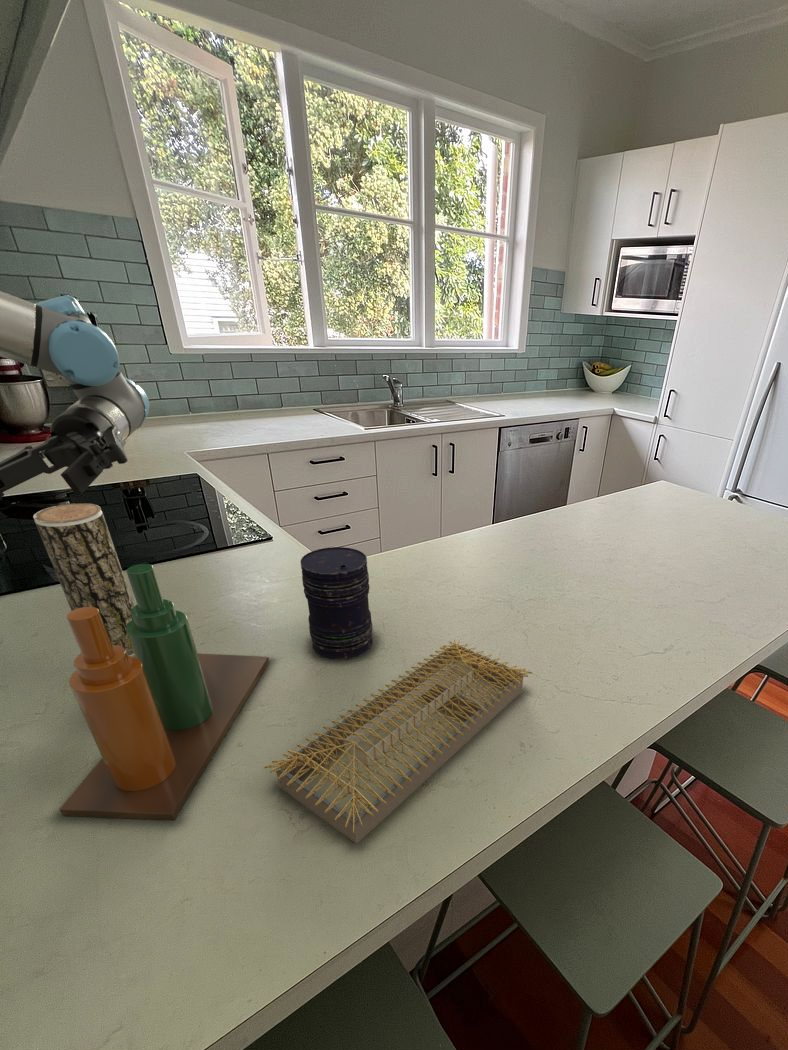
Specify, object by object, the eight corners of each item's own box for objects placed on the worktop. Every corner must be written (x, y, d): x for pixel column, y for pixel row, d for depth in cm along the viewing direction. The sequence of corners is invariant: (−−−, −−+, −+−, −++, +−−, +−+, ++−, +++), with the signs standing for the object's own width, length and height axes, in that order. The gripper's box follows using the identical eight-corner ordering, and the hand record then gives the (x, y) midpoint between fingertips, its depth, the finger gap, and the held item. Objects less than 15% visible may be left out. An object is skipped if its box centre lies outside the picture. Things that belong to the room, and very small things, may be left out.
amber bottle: (101, 790, 60) (24, 629, 49) (133, 749, 65) (70, 595, 54) (159, 792, 60) (95, 632, 49) (186, 751, 66) (134, 598, 54)
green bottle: (148, 729, 68) (92, 579, 57) (173, 697, 74) (126, 555, 63) (199, 731, 69) (153, 582, 57) (220, 699, 74) (182, 558, 63)
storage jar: (301, 639, 89) (288, 556, 81) (354, 622, 95) (347, 542, 87) (329, 668, 83) (318, 580, 75) (384, 647, 88) (380, 563, 80)
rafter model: (453, 656, 87) (454, 623, 84) (530, 691, 80) (534, 657, 77) (268, 788, 63) (259, 749, 59) (356, 854, 56) (351, 814, 53)
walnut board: (62, 815, 58) (58, 809, 58) (191, 658, 83) (189, 652, 83) (174, 820, 58) (172, 814, 58) (269, 661, 84) (268, 656, 83)
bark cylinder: (165, 679, 79) (109, 513, 65) (113, 700, 74) (42, 527, 61) (145, 660, 82) (90, 499, 69) (95, 679, 78) (25, 511, 65)
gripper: (184, 437, 83) (135, 501, 67) (30, 474, 84) (-54, 546, 68) (155, 386, 78) (95, 443, 62) (-8, 426, 79) (-108, 492, 63)
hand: (17, 497), depth 65 cm, fingers open, 13 cm apart
